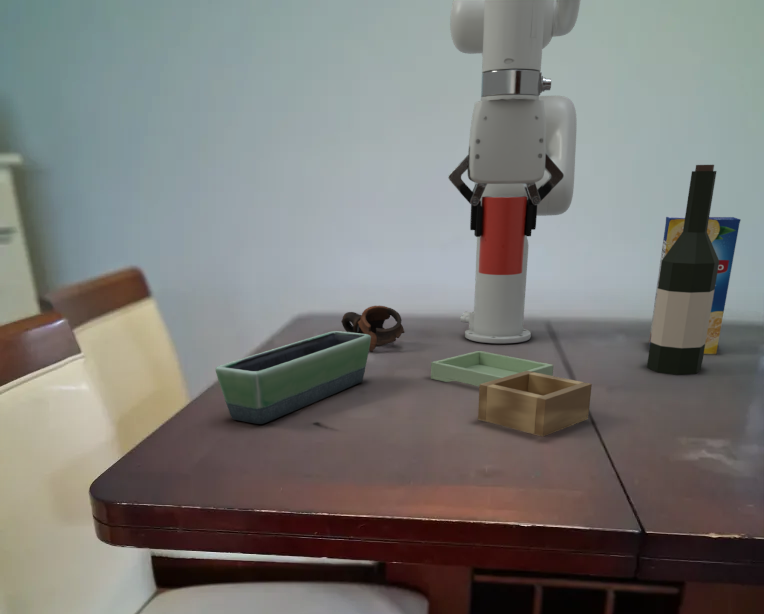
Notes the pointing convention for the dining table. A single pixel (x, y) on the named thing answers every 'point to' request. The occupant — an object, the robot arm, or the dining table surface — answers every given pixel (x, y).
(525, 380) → the box
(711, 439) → the dining table surface
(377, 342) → the pottery mug
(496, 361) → the tray
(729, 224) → the beverage box
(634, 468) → the dining table surface
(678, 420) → the dining table surface
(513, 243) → the can
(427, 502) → the dining table surface
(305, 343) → the planter
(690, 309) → the wine bottle
